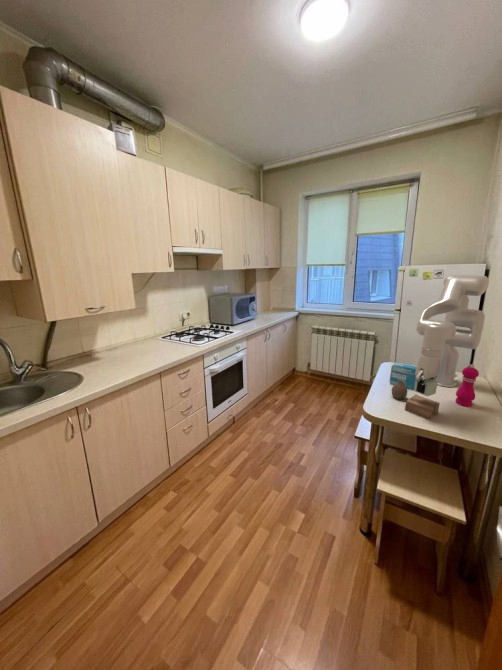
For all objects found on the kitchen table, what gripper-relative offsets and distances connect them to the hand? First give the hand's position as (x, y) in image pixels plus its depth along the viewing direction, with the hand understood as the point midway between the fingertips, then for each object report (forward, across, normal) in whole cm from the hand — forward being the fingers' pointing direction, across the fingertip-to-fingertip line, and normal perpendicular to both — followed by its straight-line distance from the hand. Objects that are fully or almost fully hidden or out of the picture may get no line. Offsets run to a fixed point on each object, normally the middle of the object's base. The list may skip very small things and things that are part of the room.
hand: (424, 390), depth 117 cm
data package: (+11, -17, -21) cm, 29 cm away
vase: (+11, -3, -13) cm, 17 cm away
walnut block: (+11, 0, 0) cm, 11 cm away
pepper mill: (+11, -25, +5) cm, 28 cm away
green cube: (+1, 0, 0) cm, 1 cm away
